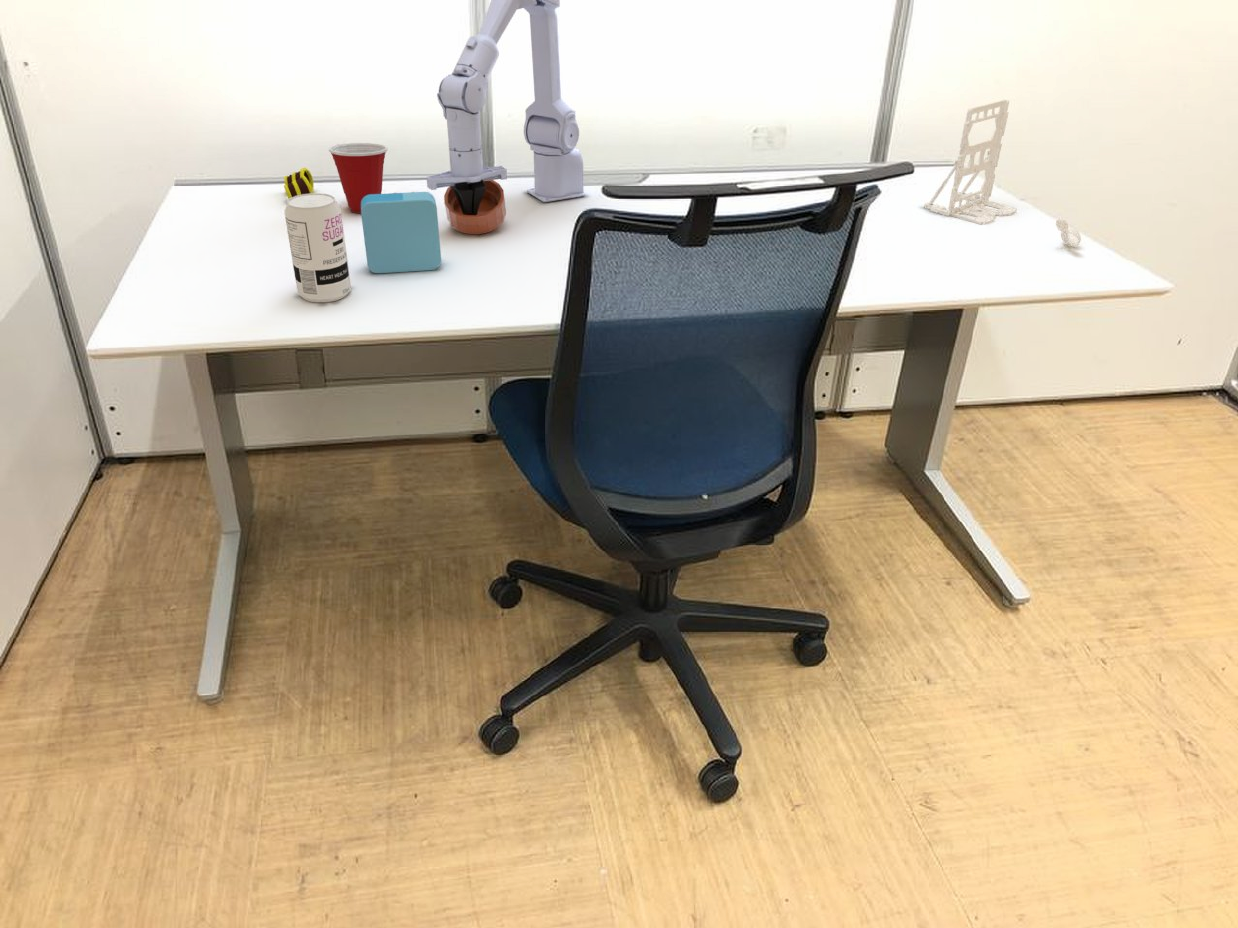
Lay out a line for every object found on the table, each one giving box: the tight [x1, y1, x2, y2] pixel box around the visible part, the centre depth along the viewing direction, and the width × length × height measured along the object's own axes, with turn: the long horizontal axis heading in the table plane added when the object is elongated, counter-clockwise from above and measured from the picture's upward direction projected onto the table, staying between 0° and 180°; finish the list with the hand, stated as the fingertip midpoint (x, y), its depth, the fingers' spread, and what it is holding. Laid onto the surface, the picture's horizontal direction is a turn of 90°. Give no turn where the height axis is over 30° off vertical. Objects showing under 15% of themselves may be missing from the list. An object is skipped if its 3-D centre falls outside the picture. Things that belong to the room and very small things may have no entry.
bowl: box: [443, 180, 507, 235], centre depth 185 cm, size 11×11×5 cm
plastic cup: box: [328, 142, 389, 214], centre depth 192 cm, size 11×11×12 cm
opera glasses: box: [283, 167, 315, 200], centre depth 200 cm, size 10×5×5 cm, turn 15°
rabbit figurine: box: [1055, 218, 1082, 251], centre depth 181 cm, size 6×4×8 cm
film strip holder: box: [923, 99, 1018, 225], centre depth 194 cm, size 14×14×20 cm
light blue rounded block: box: [360, 191, 442, 274], centre depth 166 cm, size 12×4×12 cm, turn 102°
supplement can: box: [284, 192, 352, 303], centre depth 155 cm, size 8×8×15 cm
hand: (470, 223), depth 184 cm, fingers closed, pressing on bowl
